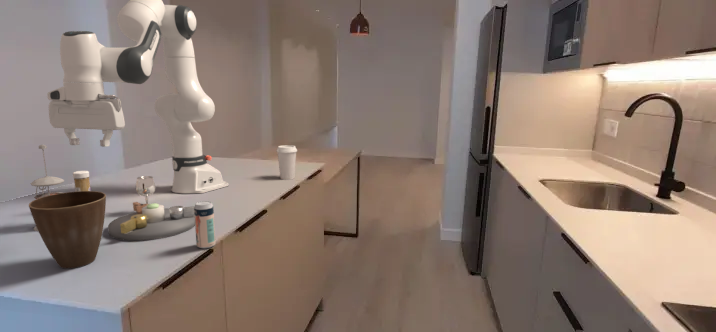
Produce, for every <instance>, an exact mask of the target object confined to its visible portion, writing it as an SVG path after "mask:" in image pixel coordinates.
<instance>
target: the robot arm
mask: <svg viewBox="0 0 716 332" xmlns="http://www.w3.org/2000/svg"><path fill="white" fill-rule="evenodd" d="M116 20H117V25H118V28H119V29H120V31H121V33H122V34H124V36H125V37H127V38H128V39H129V40H131V41H133V42H135V43H136V45H134V46H129V47H127V46H126V47H111V46H110V47H107V46H105V45H104V44H101V43H100V42H99V41H98V40H99V39H98V38H97V34H96V33H95V32H93V31H90V30H89V31H87V30H78V31H77V30H72V31H65V32H63V33H62V34H61V36H60V41H59V44H60V45H59V50H60V51H59V54H60V63H61V64H60V65H61V67H62V69H63V80H62V83H63V86H61V87H59V88H56V89H53V90H50V91H48V92H47V96H46V97H47V99H48V100H49V104H48V118H49V123H50V125H51V126H52V128H55V129H56V128H57V129H63V130H64V134H65V136H66V137H67V138H68V139H69V141H68V142H69V145H70V146H78V145H80V143H81V142H80V137H79V138H78V137H77V135H76V134H75V132H76V129H77V130H101V132H102V135H103V137H102V139H99V143H100V144H99V146H100V147H102V148H103V147H104V148H105V147H106V148H107V147H110V146H111V143H110V142H111V138H112V137H113V135H114V131H119V130H124V128H125V126H126V122H125V114H124V112H123V108H122V102H121V100H120V98H119V97H118V96H116V95H115V94H105V87H104V83H127V84H135V85H143V84H145V83H146V81H148V80H149V79H150V77H151V75H152V74H153V73H152V72H153V67H154V61H155V57H156V55H157V52H158V50H159V46H160V43H161V40H162V38H163V46H162V49H163V63H164V70H165V77H166V79H167V80H168V81H169V82H170V83H172V85H174V87H175V89H176V92H177V93H173V92H172V93H167V94H163V95H159V96H158V97H157V98H156V99H155V101H154V111H155V113H156V115H157V116H158V117H159V118H160V119H161V120H162V121H163V122H164V124H165V126H166V127H167V130H168V131H169V135H170V138H171V145H172V157H171V158H172V170H173V180H172V181H173V182H172V187H171V192H173V193H174V194H175V193H176V194H204V193H207V192H212V191H215V190H219V189H222V188H225V187H226V188H227V187H228V186H229V182H228V181H225V180H224V178H223V176H222V172H221V171H220V170H219V169H217V168H216V167H214V166H212V165H211V164H209V163H208V161H211V159H212V156H211V155H205V154H203V140H202V136H201V134H200V133H199V131H198V132H197V130H195V128H194V127H193V125H192V123H201V122H206V121H210V120H212V118H213V117H214V115H215V111H216V106H215V103H214V101H213V99H212V98H211V97H210V96H209V95H208V94H207V93H205V90H204V88H203V87H202V86H201V84H200V81H199V77H198V71H197V65H196V64H197V63H196V56H195V49H194V44H193V43H194V42H193V39H192V36H194V34H195V33H196V31H197V25H198V21H197V17H196V13H195V12H194V11H193V9H191V7H189V6H186V5H181V4H179V5H177V4H176V5H175V4H164V2H163V0H127V2H126V3H125V4H124V5H123V6H122V8H121V9H120V10H119V11H118V14H117V17H116ZM191 122H192V123H191Z"/></svg>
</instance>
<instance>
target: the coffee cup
mask: <svg viewBox="0 0 716 332" xmlns="http://www.w3.org/2000/svg"><path fill="white" fill-rule="evenodd" d="M297 152H298V149H297V148H296V145H291V144H290V145H289V144H288V145H285V144H284V145H278V146H277V148H276V153H277V159H278V168H279V178H280V180H283V181H289V180H293V179H295V177H296V176H295V174H296V161H297Z"/></svg>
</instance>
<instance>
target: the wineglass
mask: <svg viewBox="0 0 716 332" xmlns="http://www.w3.org/2000/svg"><path fill="white" fill-rule="evenodd" d="M135 182H136V183H135V191H136V193H137V194H138V195H139V196H141V197H145V198H144V200H145V204H149V196H152V195H153V194H154V193H155V191H156V184H155V183H156V182H155V180H154V177H153V176H151V175H143V176H138V177H136V181H135Z"/></svg>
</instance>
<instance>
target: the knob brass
mask: <svg viewBox="0 0 716 332" xmlns="http://www.w3.org/2000/svg"><path fill="white" fill-rule="evenodd" d="M120 226H121V233H127V232H129V231H131V230H133V229H137V228H143V227H146V226H147V217H146V215H145V214H137V215H133V216H131V220H128V221H126V222H124V223H122V224H120Z"/></svg>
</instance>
